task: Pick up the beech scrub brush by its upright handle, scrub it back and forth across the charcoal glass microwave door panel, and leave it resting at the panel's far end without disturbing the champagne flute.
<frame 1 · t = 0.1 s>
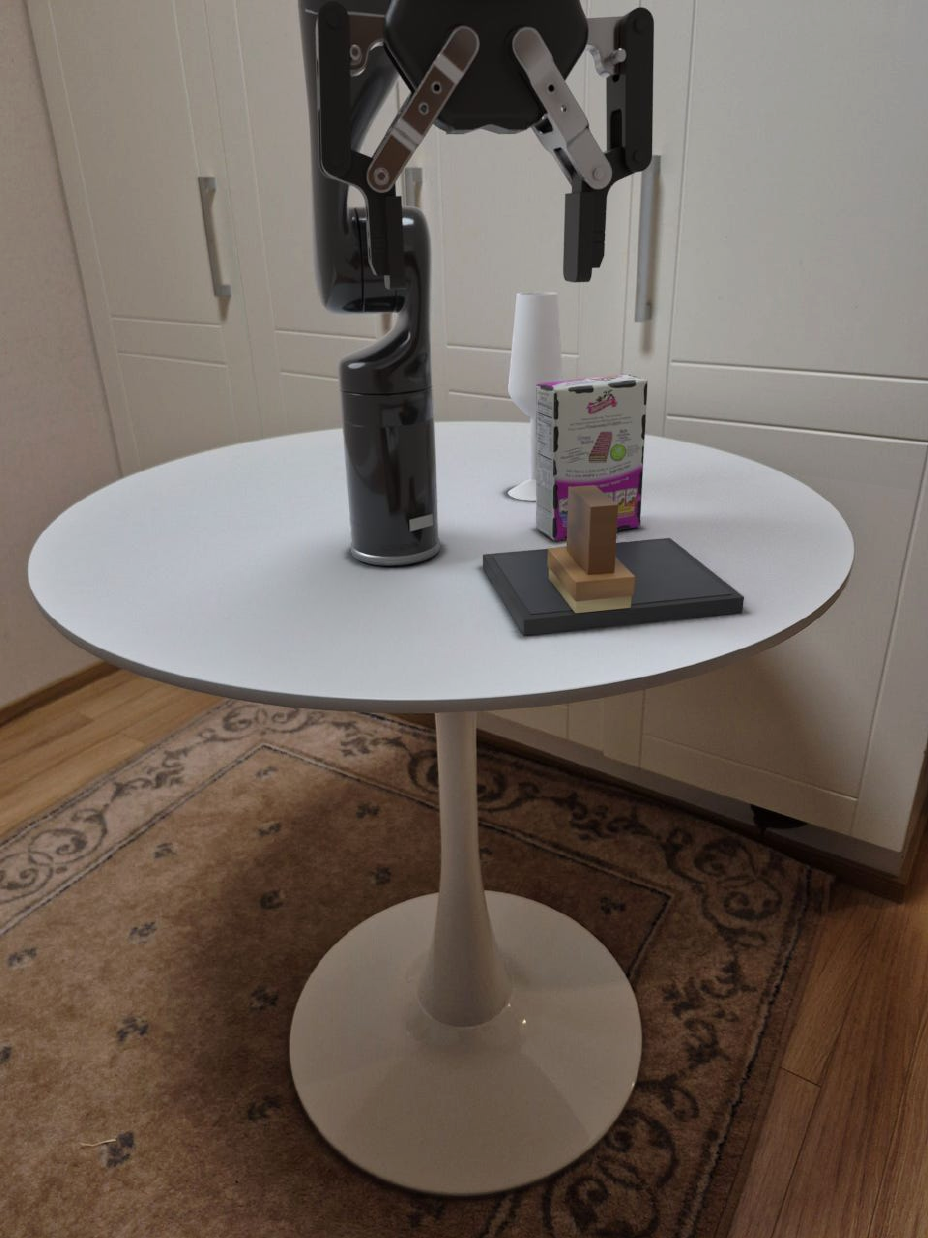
hand: (487, 284, 39), 29 cm above the table, tool pointing down, fingers open, 8 cm apart
champagne flute: (533, 494, 110), on the table
panel: (604, 588, 81), on the table
candy bar box: (586, 530, 97), on the table
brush: (588, 592, 77), point 2 cm above the table, touching panel
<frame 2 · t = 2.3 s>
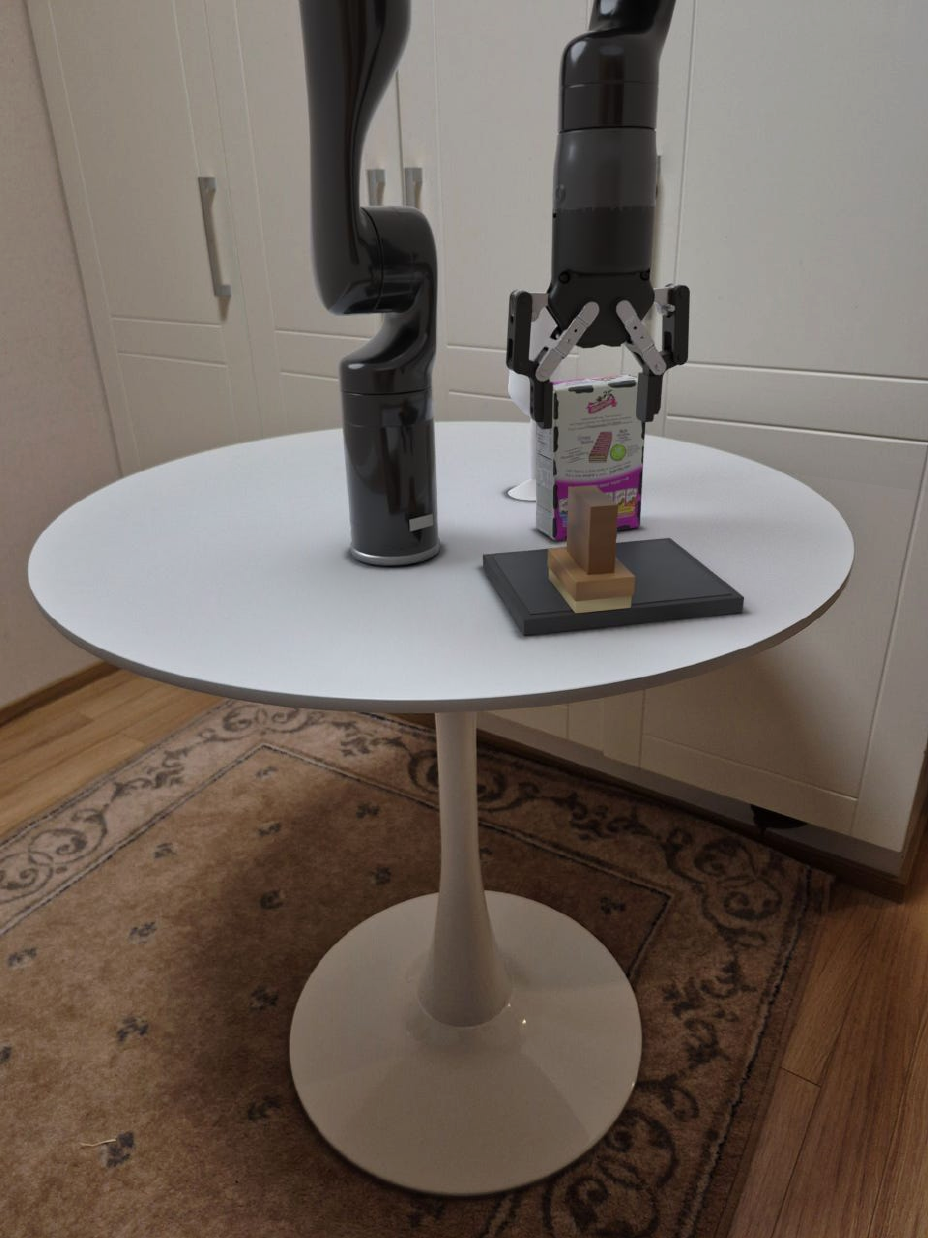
hand: (594, 423, 70), 17 cm above the table, tool pointing down, fingers open, 8 cm apart
nothing on the table moved.
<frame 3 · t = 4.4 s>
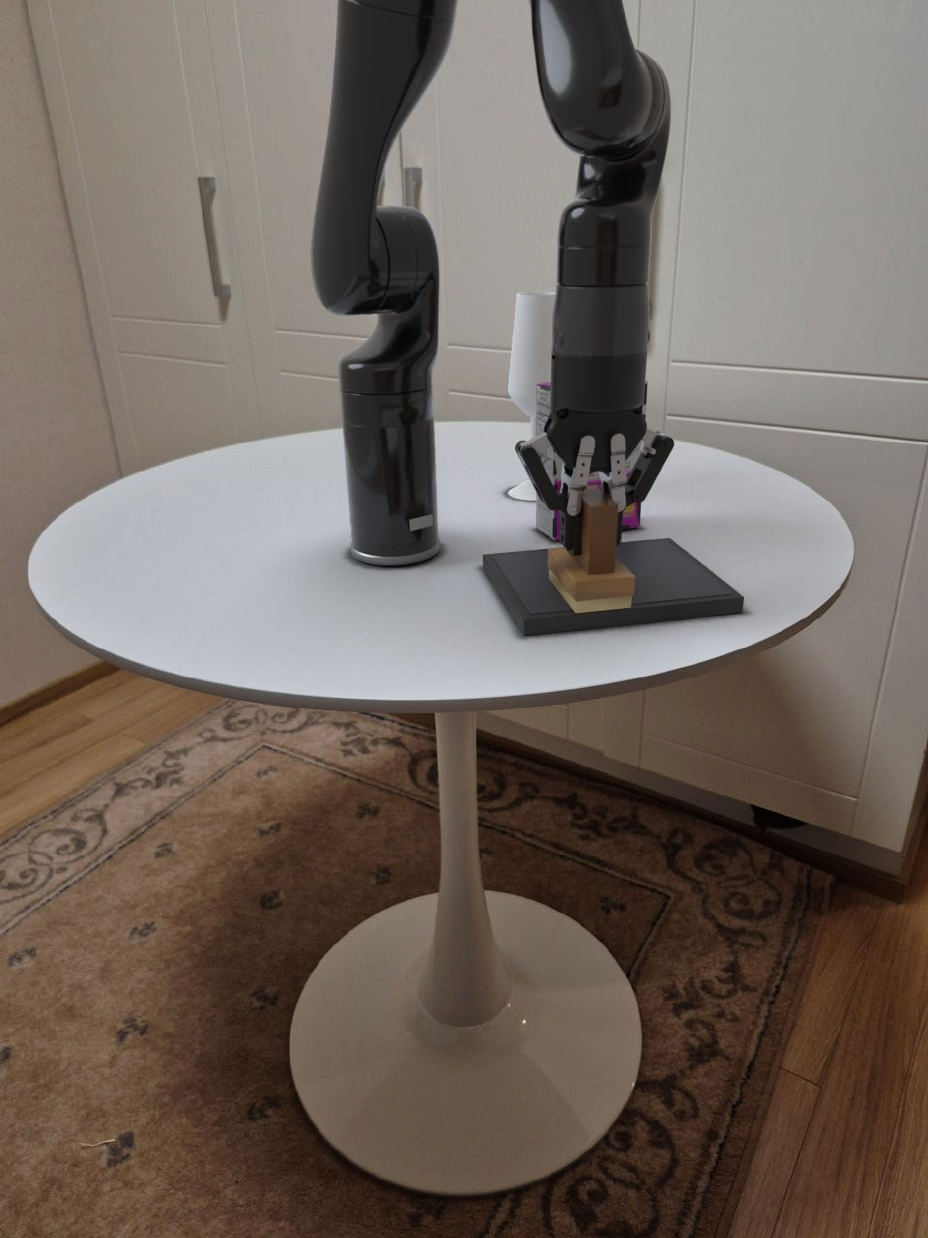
hand: (589, 550, 75), 6 cm above the table, tool pointing down, fingers closed on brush, 2 cm apart
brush: (588, 592, 77), point 2 cm above the table, touching gripper, panel
everything else where it was.
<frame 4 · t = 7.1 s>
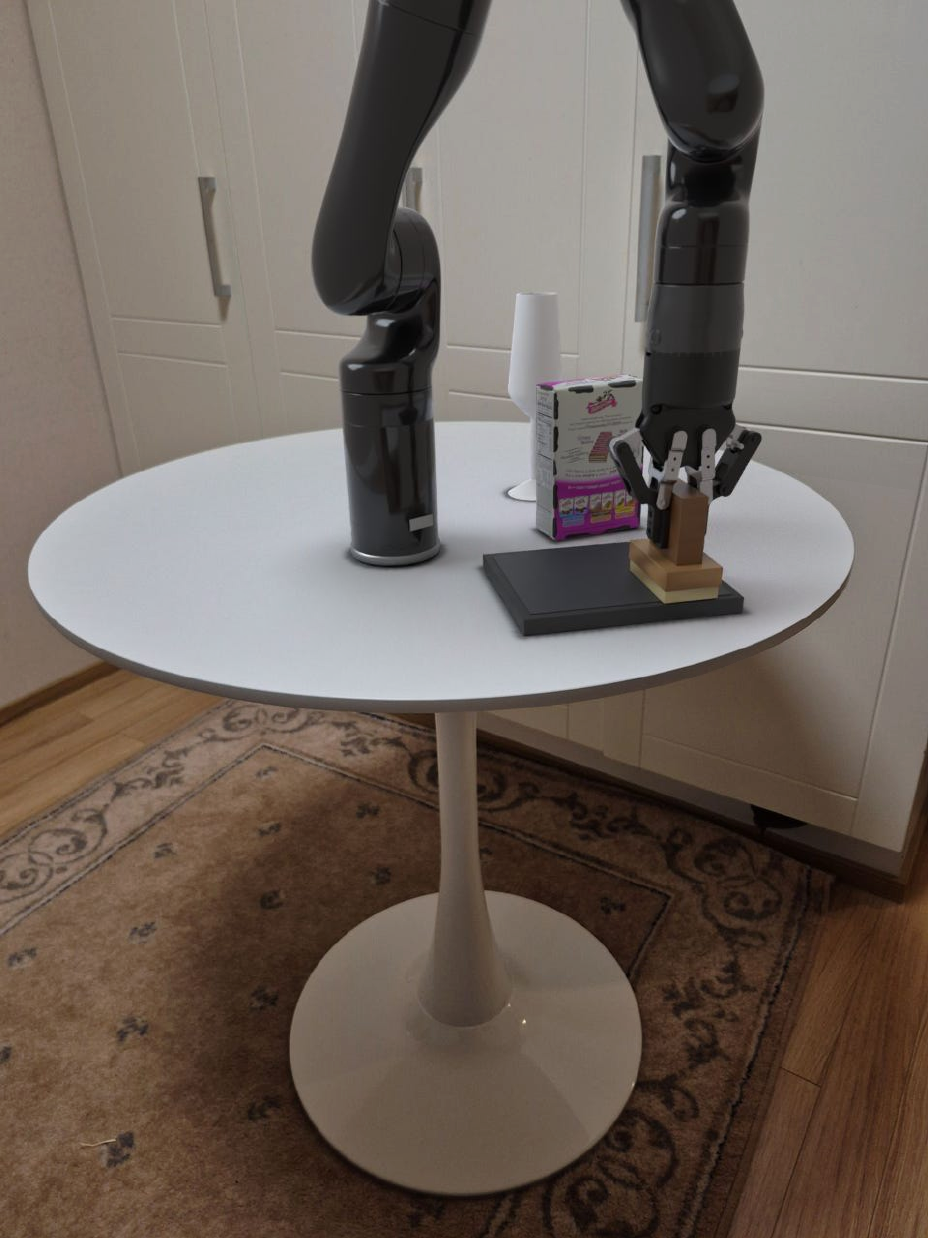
hand: (674, 543, 76), 5 cm above the table, tool pointing down, fingers closed on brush, 2 cm apart
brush: (671, 583, 78), point 2 cm above the table, touching gripper, panel
everything else where it was.
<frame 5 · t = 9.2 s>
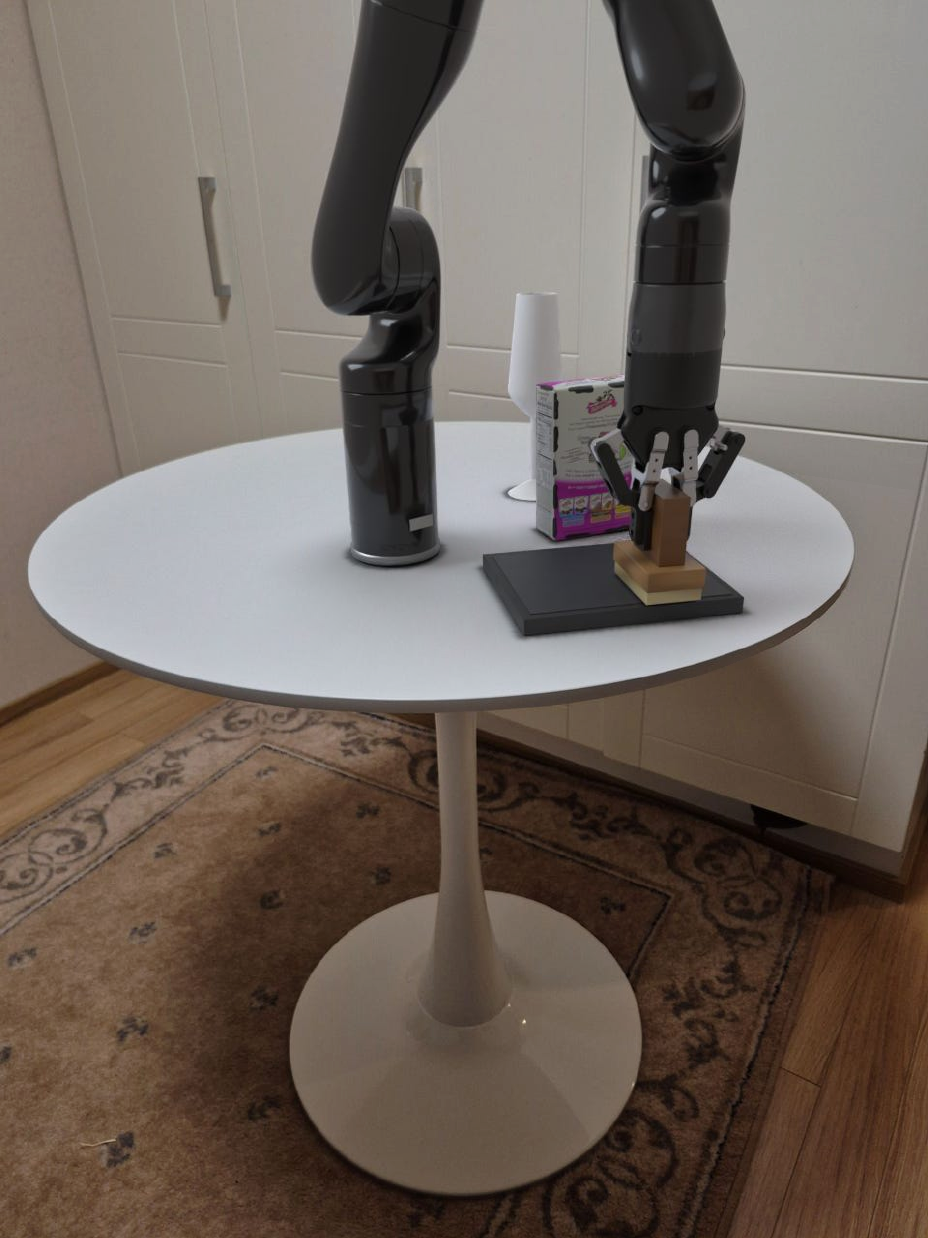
hand: (658, 545, 76), 6 cm above the table, tool pointing down, fingers closed on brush, 2 cm apart
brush: (655, 585, 77), point 2 cm above the table, touching gripper
everything else where it was.
when the fingers open (5 cm above the table, at t = 10.2 s): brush stays where it is, resting on panel.
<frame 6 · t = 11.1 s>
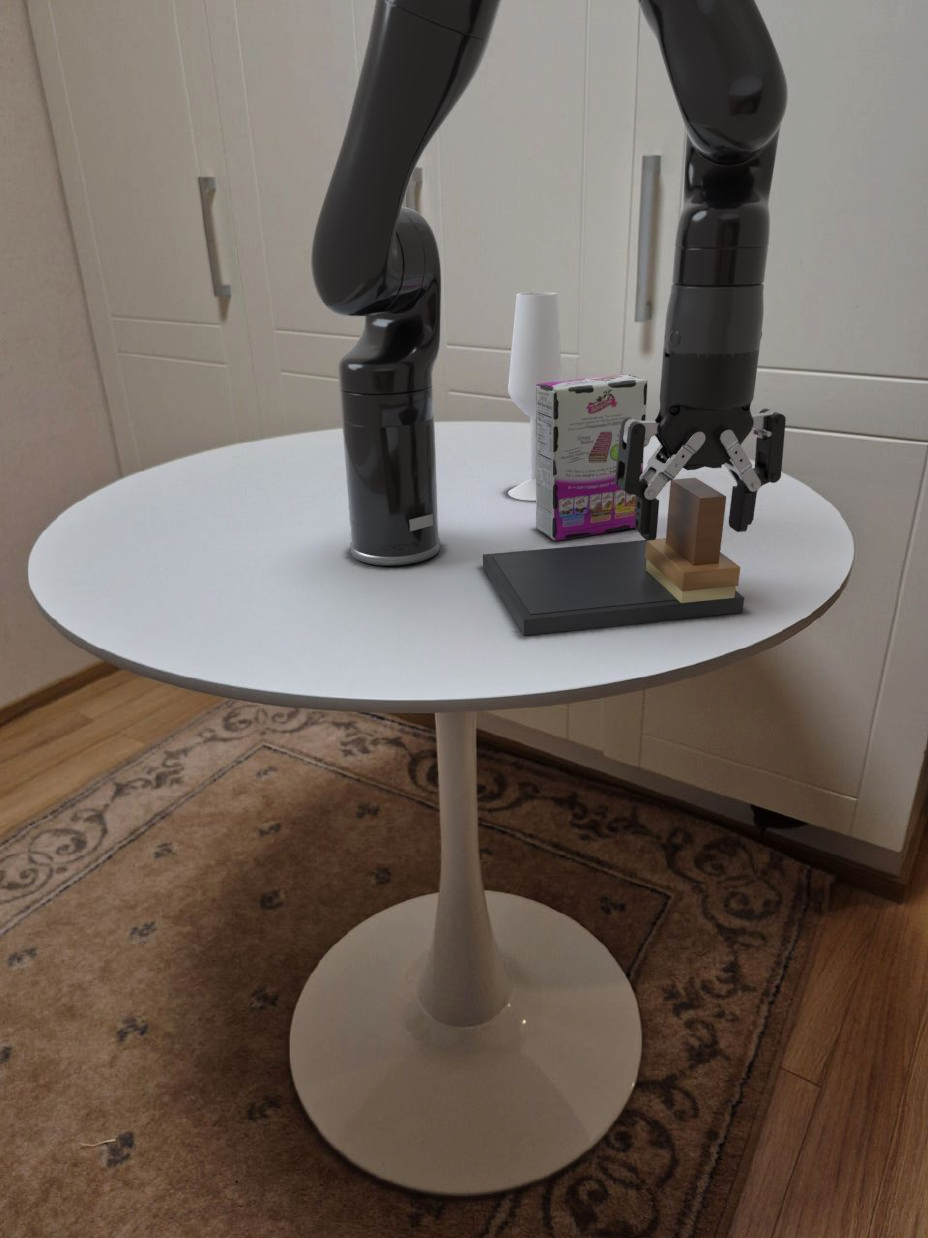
hand: (692, 533, 76), 6 cm above the table, tool pointing down, fingers open, 8 cm apart
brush: (688, 583, 78), point 2 cm above the table, touching panel
everything else where it was.
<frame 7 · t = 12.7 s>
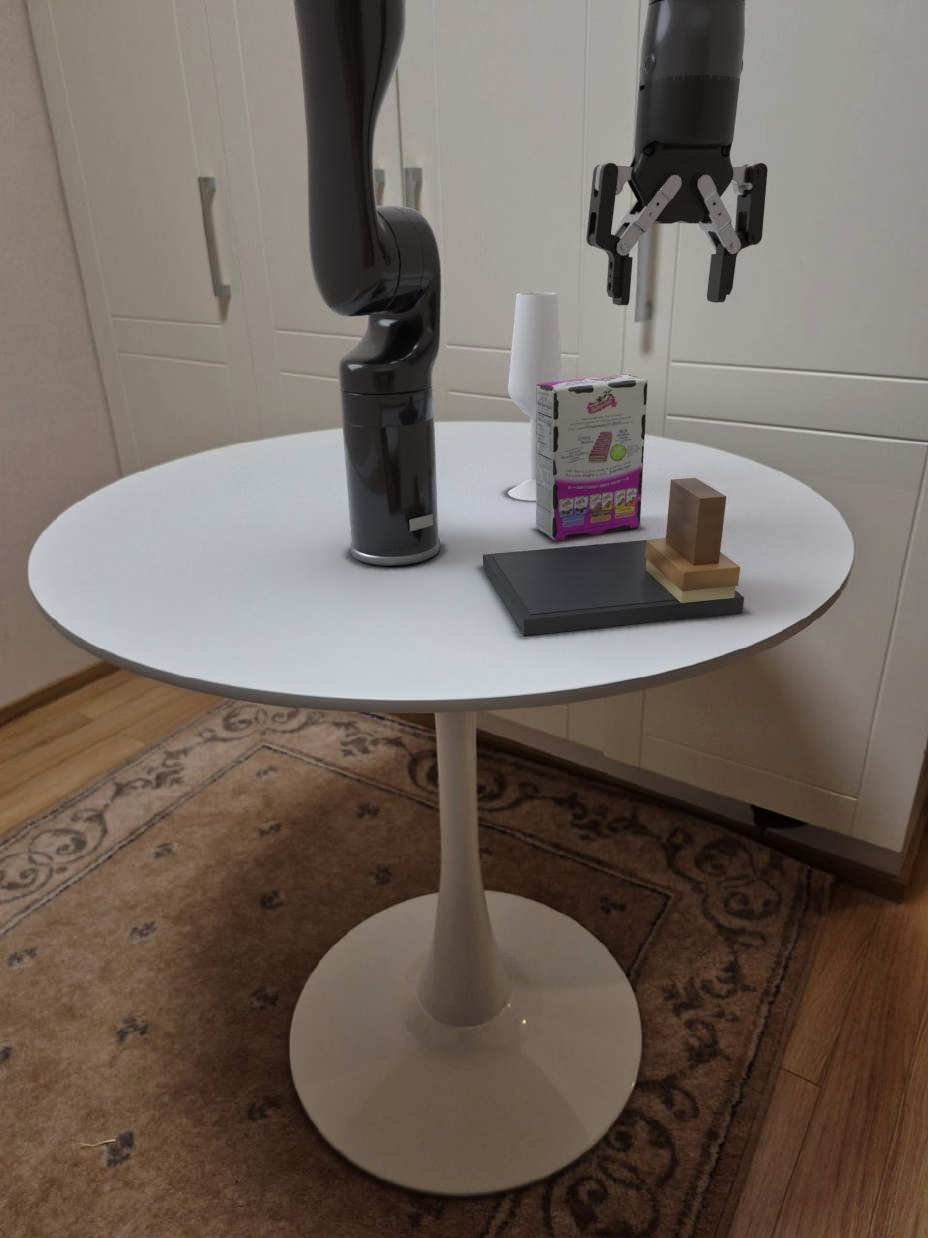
hand: (668, 303, 72), 25 cm above the table, tool pointing down, fingers open, 8 cm apart
nothing on the table moved.
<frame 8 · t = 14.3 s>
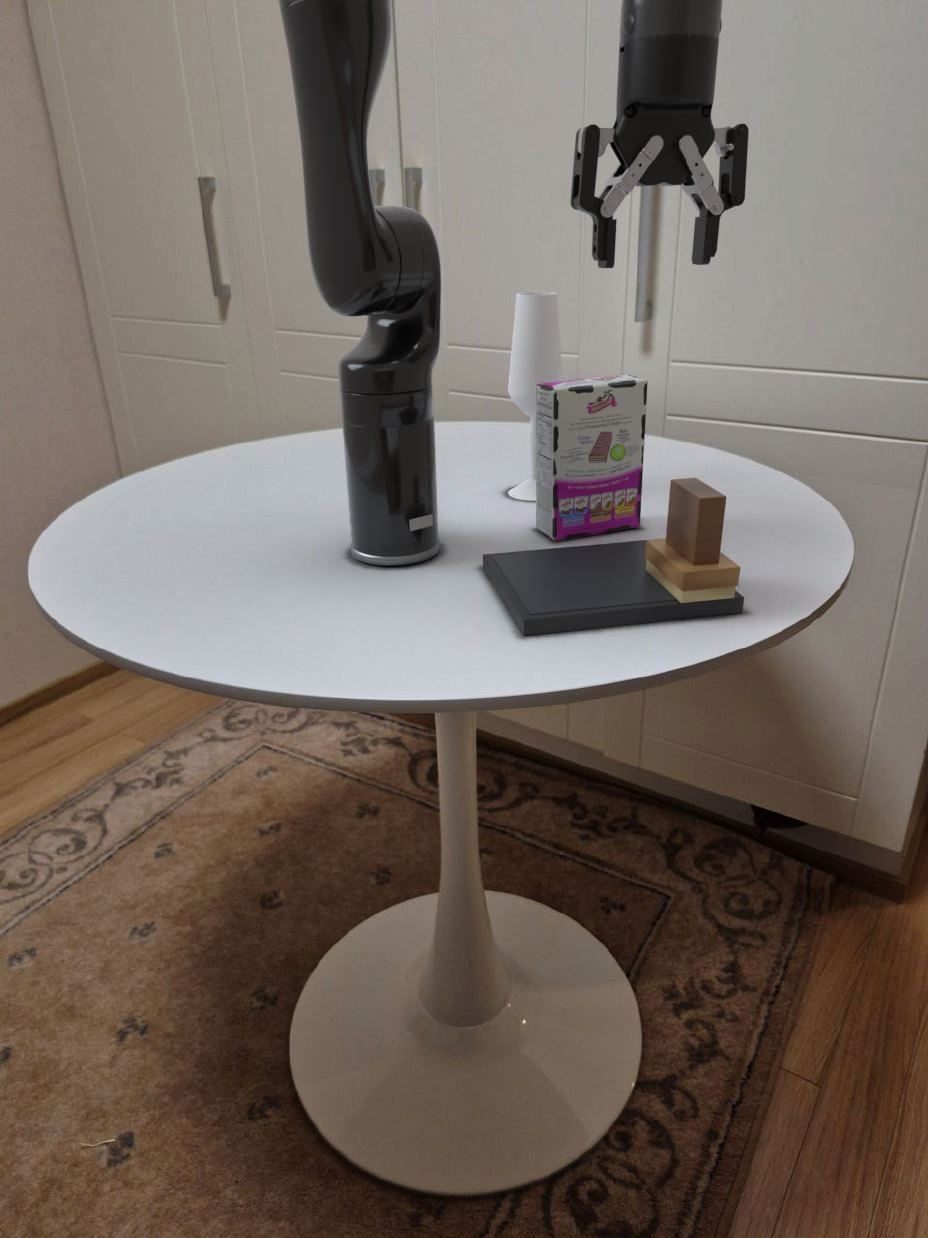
hand: (653, 266, 73), 28 cm above the table, tool pointing down, fingers open, 8 cm apart
nothing on the table moved.
at the end: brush inside the target area on the panel (1.1 cm from its centre), point 1.6 cm above the panel's base; the gripper is holding nothing; champagne flute tilted 0° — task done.
